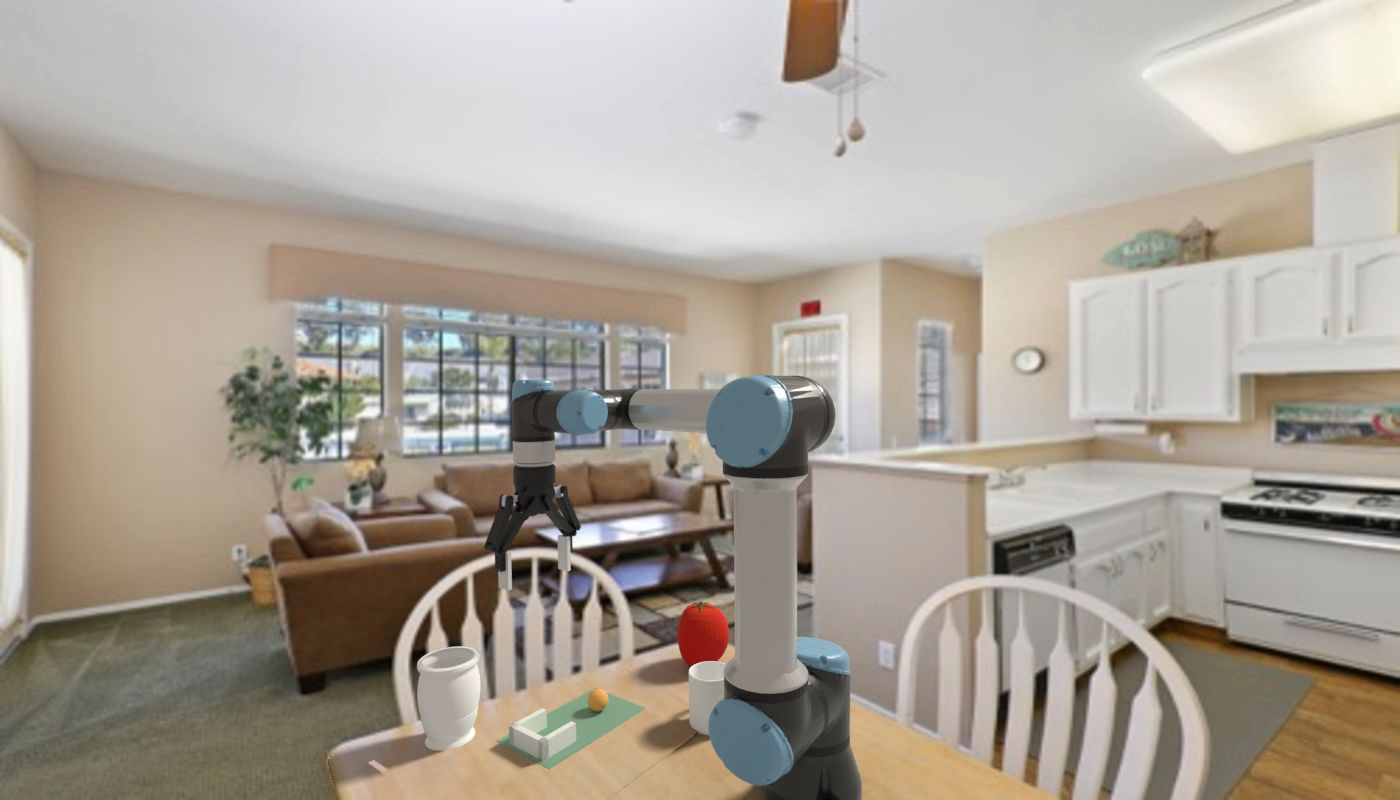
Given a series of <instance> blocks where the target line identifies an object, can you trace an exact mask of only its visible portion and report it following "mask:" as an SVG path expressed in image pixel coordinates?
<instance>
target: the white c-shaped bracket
mask: <svg viewBox="0 0 1400 800" xmlns="http://www.w3.org/2000/svg"><path fill="white" fill-rule="evenodd" d="M547 714H548V710H547V709H545V708H543V707H542V708H540V709H538V710H536V711H535V712H532V713H531V714H528V715H527V716H525V717H523V718H521V719H519V720H517V721H515V722H513V723H511V724H510V725H509V726H508V730H509V731H508V733H509V734H508V735H509V744H511V745H513V746H515V747H517V748H519V749H521V750H523V751H524V752H526V753H528V754H530V755H532V756H534V757H536V758H538V759H540V760H542V761H544V760H546V759H548V758H549V757H551V756H553V755H554V754H556V753H558V752H559V751H561V750H562V749H564V748H566V747H567V746H569V745H571V744H572V743H574V742H576V723H574V722H572V721H571V722H569V723H567V724H566V725H564V726H562V727H560V728H559V729H557V730H555V731H553V732H552V733H550V734H548V735H546V736H545V737H543V736H541V735H539V734H537V733H538V732H539V731H541V730H543V729H545V728H546V727H547Z"/></svg>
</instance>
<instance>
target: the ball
mask: <svg viewBox="0 0 1400 800" xmlns="http://www.w3.org/2000/svg"><path fill="white" fill-rule="evenodd" d="M607 693H608V692H607V691H605V690H604V689H602V688H596V689H595V690H593V691H592V692H591V693H590V694H589V696H588V706H589V707H590V709H591V710H593V711H596V712H598V711H602V710H603V709H605V707H606V706H607V704H608V695H607Z"/></svg>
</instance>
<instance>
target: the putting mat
mask: <svg viewBox="0 0 1400 800" xmlns="http://www.w3.org/2000/svg"><path fill="white" fill-rule="evenodd" d="M595 689H597V688H596V687H595V688H592V689H591V690H589V691H587V692H585V693H582V694H581V695H579V696H578V697H576V698H574V699H572V700H570V701H568V702H566V703H565V704H563V705H561V706H559V707H557V708H555V709H553V710H551V711H550V712H547V727H546V728H545V729H543V730H541V731H539V732H538V733H537V734H539V735H541V736H543V737H545V736H546V735H548V734H550V733H552V732H553V731H555V730H557V729H559V728H560V727H562V726H564V725H566V724H567V723H569V722H571V721H572V722H574V723H576V742H574V743H572V744H571V745H569V746H567V747H566V748H564V749H562V750H561V751H559V752H558V753H556V754H554V755H553V756H551V757H549V758H548V759H546V760H544V761H542V760H540V759H538V758H536V757H534V756H532V755H530V754H528V753H526V752H524V751H523V750H521V749H519V748H517V747H515V746H513V745H511V744H509V734H507V735H506V736H503V737H502V738H500V739H498V740H496V742H497V743H499V744H501V745H503V746H505V747H506V748H509V750H512V751H514V752H515V753H518V754H519V755H522V756H524V757H525V758H527V759H530V760H531V761H533V762H535V763H537V764H538V765H541V766H543V767H544V768H546V769H548V770H551V769H553V768H554V767H555V766H557V765H558V764H560V763H562V762H564V761H565V760H566V759H568V758H570V757H571V756H573V755H574V754H576V753H577V752H579V751H580V750H582V749H584V748H585V747H587V746H588V745H590V744H592V743H593V742H595V741H596V740H599V739H600V738H601V737H603V736H604V735H606V734H607V733H610V731H613V730H614V729H615V728H617V727H619V726H620V725H621V724H623V723H625V722H627V721H628V720H631V719H632V717H635V716H636V715H638V714H640V713H641V712H643V711H644V710H646V709H647V708H646V707H644V706H642V705H641V704H636V703H634V702H632V701H630V700H627V699H624V698H622V697H618V696H616V695H614V694H611V693H609V692H606V693H607V695H608V704H607V706H606V707H605V709H603V710H602V711H598V712H596V711H593V710H591V709H590V707H589V706H588V696H589V694H590V693H591V692H592V691H593V690H595Z"/></svg>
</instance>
